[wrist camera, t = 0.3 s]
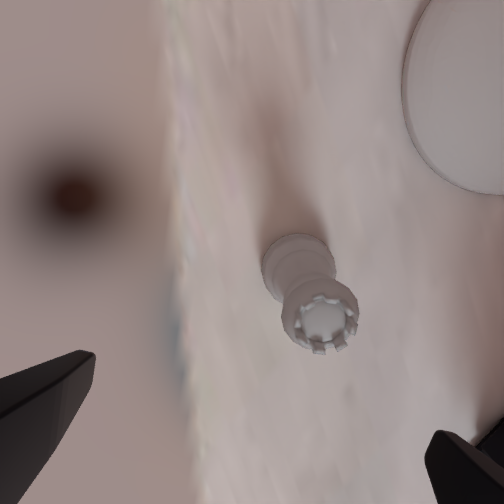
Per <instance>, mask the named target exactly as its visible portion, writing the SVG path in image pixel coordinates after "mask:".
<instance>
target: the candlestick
mask: <svg viewBox="0 0 504 504" xmlns="http://www.w3.org/2000/svg"><path fill="white" fill-rule="evenodd" d="M402 105H403V113H404V118H405V122H406V125H407V129H408V132H409V134H410V137H411V139H412V141H413V143H414V145H415V147H416V149H417V150H418V152H419V154H420V155H421V157H422V158H423V159H424V161H425V162H426V163H427V164H428V165H429V166H430V167H431V168H432V169H433V170H434V171H435V172H436V173H437V174H438V175H440V176H441V177H443V178H444V179H445V180H447V181H449V182H450V183H452V184H454V185H456V186H458V187H461V188H463V189H466V190H469V191H473V192H478V193H484V194H493V195H504V0H431V1H430V3H429V4H428V6H427V7H426V9H425V11H424V12H423V14H422V16H421V18H420V20H419V22H418V24H417V26H416V28H415V30H414V32H413V35H412V38H411V40H410V43H409V46H408V50H407V54H406V58H405V62H404V67H403V74H402Z"/></svg>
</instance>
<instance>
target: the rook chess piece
mask: <svg viewBox="0 0 504 504" xmlns="http://www.w3.org/2000/svg"><path fill="white" fill-rule="evenodd" d="M261 272H262V275H263V279H264V283H265V285H266V288H267V290H268V291H269V292H270V294H271V295H272V296H273V297H274V299H276V300H277V301H279V302H281V303H282V304H283V310H282V315H281V319H282V323H283V327H284V331H285V332H286V333H287V334H288V336H289V337H290V338H291V340H292V341H293V342H295V343H297V344H299V345H300V346H302V347H304V348H307V349H312V351H313V353H315V354H322V355H325V349H328V348H332V347H335V348H336V350H337V352H338V351H340V350H342V349H343V348H345V347H346V346H348V345H347V343H346V341H345V340H346V339H348V337H349V336H350V335H354V336H355V334H356V330H357V326H358V324H357V321H358V317H359V308H358V303H357V299H356V297H355V296H354V295H353V293H352V292H351V290H350V289H349V288H348V287H346V286H345V285H343V284H341V283H340V282H338V281H336V280H335V278H336V266H335V261H334V258H333V256H332V255H331V253H330V251H329V250H328V248H327V247H326V245H325V244H324V243H323V242H322V241H320V240H318V239H317V238H315V237H313V236H312V235H306V234H300V233H296V234H292V235H287V236H283V237H282V238H280V239H279V240H277V241H276V242H275V243H273V244H272V245H271V246H270V248H269V249H268V251H267V252H266V254H265V255H264V257H263V263H262V269H261Z"/></svg>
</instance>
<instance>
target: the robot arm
mask: <svg viewBox="0 0 504 504" xmlns="http://www.w3.org/2000/svg"><path fill="white" fill-rule="evenodd" d="M95 361H96V356H95V354H94V353H92V352H88V351H83V350H76V351H74V352H71V353H68V354H66V355H63V356H61V357H57V358H55V359H52V360H50V361H47V362H44V363H42V364H39V365H36V366H33V367H30V368H28V369H25V370H22V371H20V372H17V373H14V374H12V375H9V376H6V377H3V378H1V379H0V504H17V503H18V502H19V501H20V499H21V498H22V496H23V495H24V493H25V492H26V491H27V489H28V488H29V486H30V485H31V484H32V482H33V481H34V479H35V478H36V476H37V475H38V474H39V472H40V471H41V470H42V468H43V466H44V465H45V464H46V463H47V461H48V460H49V458H50V457H51V455H52V454H53V452H54V451H55V449H56V448H57V446H58V444H59V443H60V441H61V439H62V438H63V436H64V434H65V432H66V431H67V429H68V427H69V425H70V423H71V422H72V420H73V418H74V416H75V415H76V413H77V411H78V410H79V408H80V406H81V404H82V402H83V401H84V399H85V397H86V396H87V393H88V392H89V390H90V388H91V385H92V381H93V375H94V368H95ZM425 466H426V469H427V472H428V475H429V478H430V481H431V484H432V487H433V490H434V493H435V496H436V500H437V503H438V504H504V418H503V419H502V420H501V421H500V422H499V423H498V424H497V426H496V427H495V428H494V429H493V430H492V431H491V432H490V433H489V434H488V435H487V436H486V437H485V438H484V439H483V440H482V442H481V443H480V444H479V445H478V446H477V447H476V448H475V447H473V446H472V445H470V444H469V443H468V442H466V441H465V440H464V439H462V438H461V437H459V436H458V435H457V434H455V433H453V432H449V431H444V430H437V431H436V432H435V433H434V435H433V437H432V439H431V442H430V444H429V446H428V448H427V450H426V453H425Z"/></svg>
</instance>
